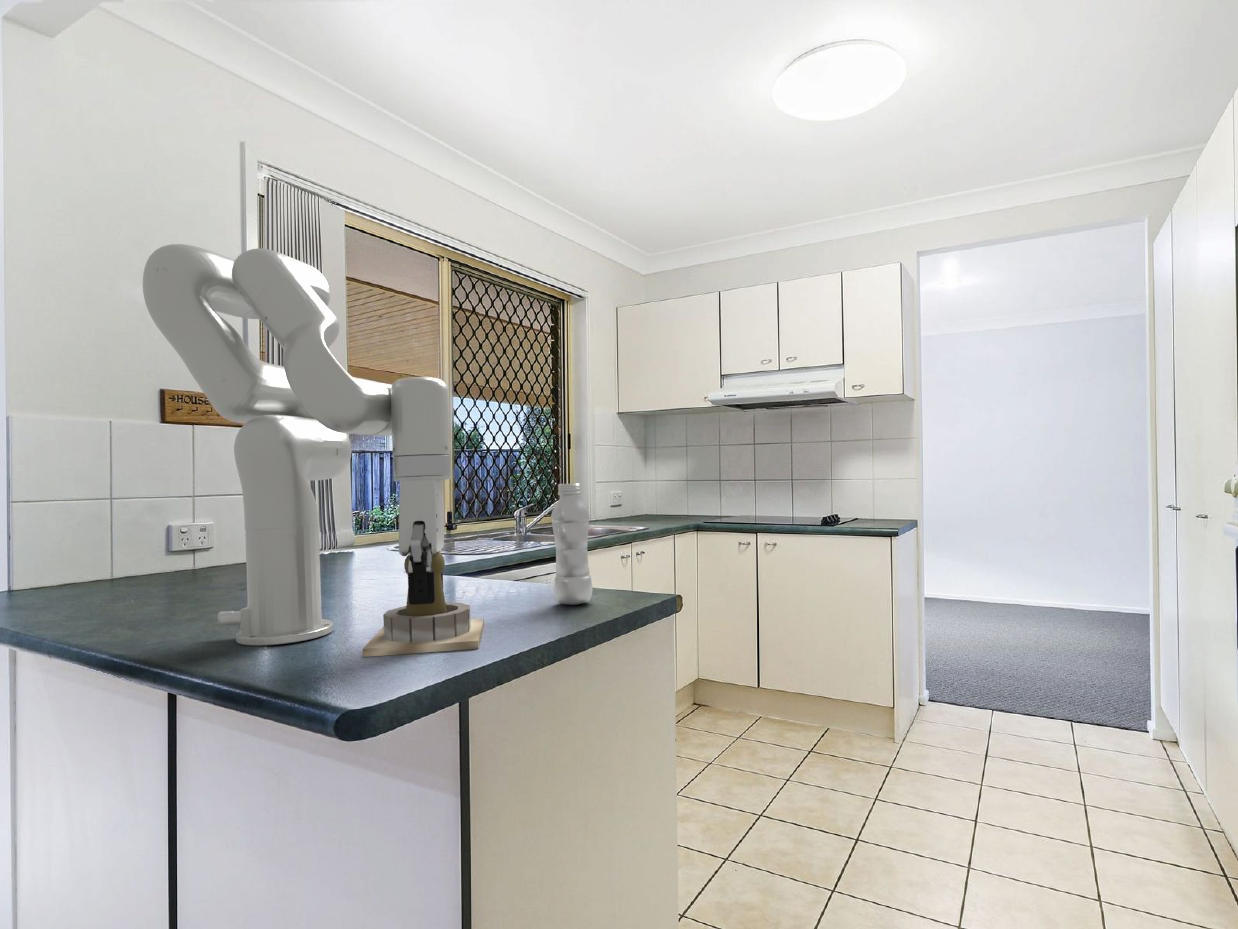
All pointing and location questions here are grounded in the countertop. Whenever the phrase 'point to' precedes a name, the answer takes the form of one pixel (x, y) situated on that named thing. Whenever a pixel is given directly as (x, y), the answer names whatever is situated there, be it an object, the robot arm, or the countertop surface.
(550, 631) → the countertop surface
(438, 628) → the ring collar
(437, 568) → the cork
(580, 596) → the plastic bottle
